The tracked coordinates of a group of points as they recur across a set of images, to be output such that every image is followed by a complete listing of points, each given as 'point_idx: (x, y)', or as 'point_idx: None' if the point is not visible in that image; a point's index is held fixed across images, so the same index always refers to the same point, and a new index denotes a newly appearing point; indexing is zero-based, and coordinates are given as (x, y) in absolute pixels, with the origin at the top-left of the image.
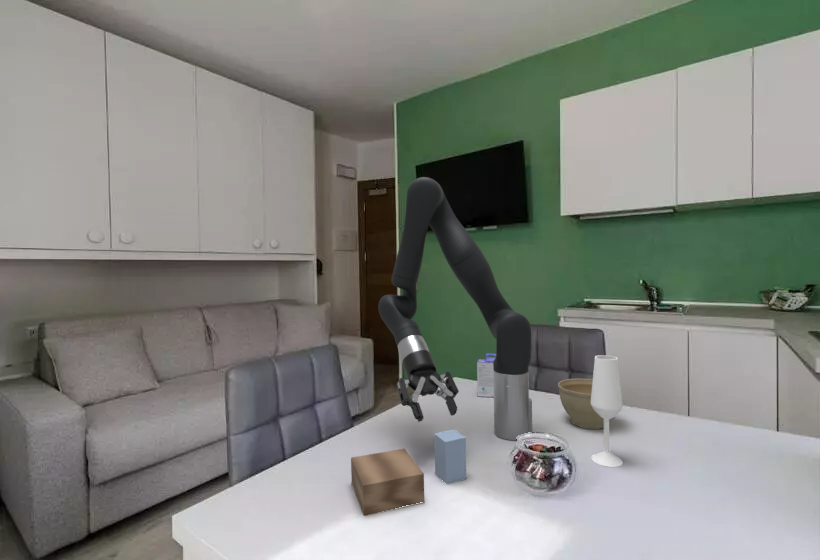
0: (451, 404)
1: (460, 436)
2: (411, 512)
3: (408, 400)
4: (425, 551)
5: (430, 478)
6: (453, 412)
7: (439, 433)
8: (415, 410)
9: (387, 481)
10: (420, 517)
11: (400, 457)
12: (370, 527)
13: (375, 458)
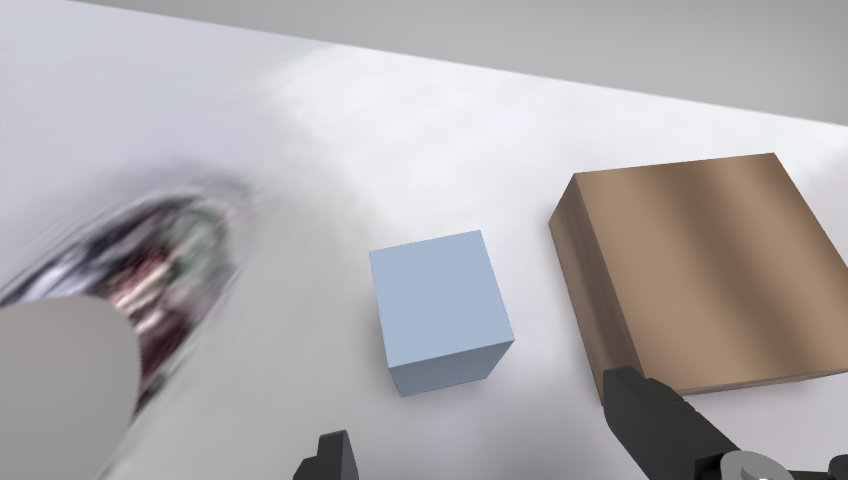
0: (340, 478)
1: (388, 268)
2: None
3: (831, 462)
4: (564, 84)
5: None
6: (348, 439)
7: (485, 333)
8: (691, 414)
9: (696, 161)
10: (565, 170)
11: (665, 304)
12: None
13: (780, 322)
